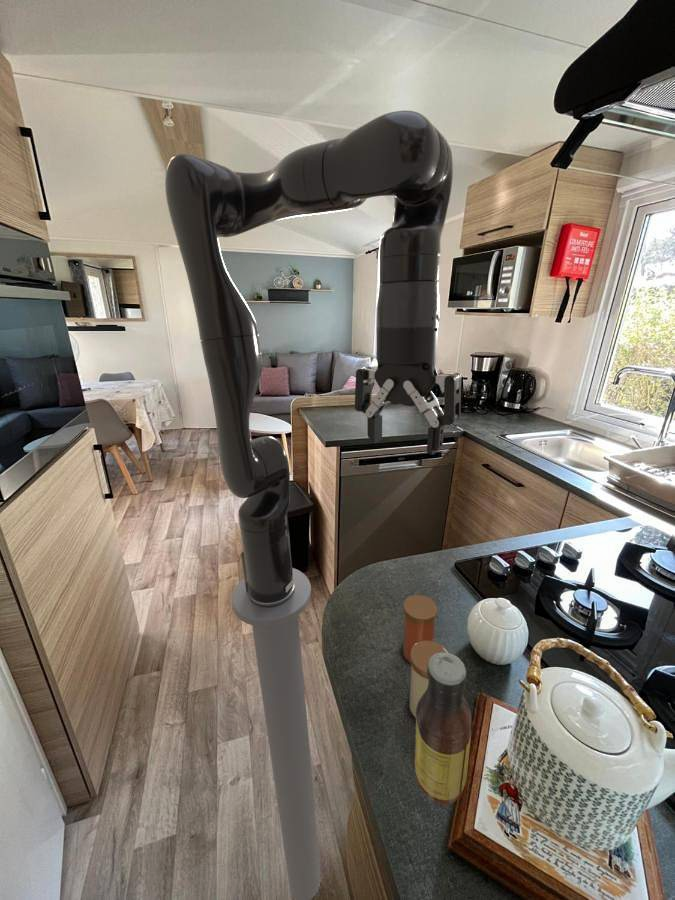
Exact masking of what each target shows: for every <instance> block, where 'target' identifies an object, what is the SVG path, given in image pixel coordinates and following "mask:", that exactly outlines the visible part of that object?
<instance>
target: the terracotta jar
mask: <svg viewBox="0 0 675 900" xmlns="http://www.w3.org/2000/svg"><path fill="white" fill-rule="evenodd" d="M403 615H404V618H403V619H404V620H403V644H402V654H403V657H404V658H405V660H406V661H407V662H409V663H410V664H411V662H410V653H411V649H412V647H413V646H414V645H415V644H416V643H418V642H421V641H433V642H435V632H436V631H435V629H436V620H437V617H438V605H437V603H436V602H435V601H434V600H433V599H431V598H430V597H428V596H426V595H421V594H413V595H410V596H408V597H407V598H406V599H405V600H404V602H403Z"/></svg>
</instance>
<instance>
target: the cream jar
mask: <svg viewBox="0 0 675 900" xmlns="http://www.w3.org/2000/svg"><path fill="white" fill-rule="evenodd" d="M437 653H449V652H448V650H447V649H446V648H445V647H444V646H443V645H441V644H440V643H438V642H436V641H434V642H433V641H421V642H418V643H416V644H415V645H414V646H413V647H412V649H411V653H410V662H411V663H410V662H409V663H410V665H411V666H410V682H409V683H410V685H409V703H408V705H409V710H410V712H411V714H412V716H413V717H414V718H415V719H416V708H417V704H418V701H419V699H420V698H421V696H422V695H423V694H424V692H425V691H426V690H427V687H428V681H429V679H428V675H427V667H428V662H429V659H430V658H431V657H432V656H433V655H434V654H437Z"/></svg>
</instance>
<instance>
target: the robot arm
mask: <svg viewBox="0 0 675 900" xmlns="http://www.w3.org/2000/svg"><path fill="white" fill-rule="evenodd" d="M453 163H454V162H453V154H452V149H451V145H450V144H449V142H448V140H447V139H446V138H445V136H444V135H443V134H442V133H441V132H440V131H439V130H438V128H437V127H436V126H434V124H433V123H432V122H431V121H430V120H429V119H428V118H427V117H426V116H425V115H424V114H422V113H420V112H417V111H414V110H405V109H404V110H396V111H391V112H387V113H384V114H382V115H379V116H377V117H374V118H373V119H371V120H369V121H367V122H366V123H364V124H363V125H361V126H359V127H358V128H355V129H354V130H352V131H351V132H349V133H348V134H347V135H346V136H344V137H339V138H334V139H330V140H326V141H322V142H318V143H313V144H309V145H306V146H303V147H300V148H298V149H295V150H293V151H291V152H290V153H288V154H287V155H285V157H283V158H281V160H280V161H279V162H277V164H276V165H275V166H273V167H272V168H270V169H268V170H266V171H261V172H242V171H241V172H240V171H234V170H232V169H230V168H229V167H227V166H224V165H221V164H220V163H217V162H214V161H211V160H208V159H205V158H203V157H199V156H197V155H195V154H190V153H179V154H176V155H174V156H173V157H172V158H171V159H170V161H169V163H168V165H167V168H166V172H165V177H164V178H165V179H164V180H165V181H164V182H165V183H164V187H165V189H164V191H165V197H166V198H165V199H166V204H167V209H168V213H169V217H170V221H171V225H172V228H173V232H174V234H175V238H176V242H177V245H178V248H179V252H180V255H181V259H182V261H183V262H182V263H183V266H184V269H185V272H186V276H187V280H188V284H189V289H190V293H191V296H192V303H193V308H194V312H195V316H196V323H197V328H198V335H199V340H200V347H201V351H202V356H203V361H204V366H205V368H206V370H205V371H206V372H207V373H206V374H207V377H208V378H207V379H208V382H209V383H208V384H209V388H210V393H211V400H212V404H213V410H214V411H213V412H214V417H215V425H216V436H217V447H218V457H219V464H220V469H221V474H222V477H223V480H224V483H225V485H226V486H227V489H228V490H229V491H230V492H231V493H232V495H234V496H235V497H237V498H239V499H245V500H244V501H243V503H242V504H241V505H240V506H239V509H238V512H237V516H238V524H239V530H240V531H239V532H240V538H241V545H242V552H241V553H240V557H241V565H242V572H243V578H244V579H245V586H246V591H247V592H248V593H249V598H250V600H251V601H252V602H253V603H254V604H255V605H257V606H260V607H274V606H278V605H281V604H283V603H285V602H286V601H287V600H289V599H290V598H291V596H292V595H293V593H294V581H293V571H292V568H293V561H292V551H291V549H292V548H291V538H290V529H289V528H290V527H289V526H290V525H289V518H288V516H289V515H288V510H289V509H290V506H291V505H290V504H291V476H290V463H289V459H288V458H289V457H288V454H287V452H286V450H285V448H284V446H283V444H282V443H281V442H280V441H279V440H278V439H277V438H275V437H273V436H270V435H264V436H259V437H257V438H253V439H251V432H250V415H251V409H252V406H253V402H254V399H255V395H256V393H257V389H258V386H259V384H260V380H261V376H262V371H263V356H262V348H261V340H260V335H259V329H258V326H257V325H258V324H257V322H256V319H255V317H254V315H253V313H252V311H251V309H250V308H249V306H248V304H247V302H246V301H245V299H244V297H243V296H242V294H241V293H240V292H239V290H238V288H237V287H236V285H235V283H234V282H233V280H232V278H231V277H230V274H229V272H228V271H227V267H226V265H225V262H224V259H223V256H222V252H221V247H220V241H219V238H231V237H234V236H238V235H240V234H241V235H242V234H244V233H246V232H249V231H251V230H254V229H256V228H259V227H261V226H263V225H266V224H270V223H273V222H277V221H280V220H284V219H290V218H295V217H303V216H304V217H305V216H312V215H320V214H321V215H322V214H328V213H329V214H330V213H335V212H336V213H337V212H342V211H343V212H344V211H348V210H353V209H356V208H358V207H360V206H362V205H363V204H364V203H365V202H366V200H367V199H370V198H375V197H393V198H394V202H393V214H392V222H391V226H390V227H388V228H387V229H386V230H384V231H383V233H382V235H381V236H380V240H379V248H378V249H379V250H378V290H377V291H378V292H377V297H376V298H377V299H376V327H375V328H376V331H375V333H376V335H375V336H376V341H375V342H376V343H375V346H376V348H375V349H376V350H375V351H376V352H375V354H376V355H375V359H376V362H377V367H376V369H373V368H372V367H371V366H365V367H362V368H358V369H357V370H356V371H355V384H354V385H355V387H354V388H355V389H354V410H355V411H356V412H361V413H363V414H365V416H366V419H367V421H366V422H367V438H368V439H369V441H370V443H373V444H377V443H379V442H381V441H382V439H383V415H382V414H381V413H382V412H383V410H384V409H385V408H386V406H387V405H388V404H390V405H404V406H406V407H414V406H416V408H417V410H418V411H419V412H420V414H421V415H422V414H423V415H424V417H425V419H426V420H427V423H429V425H430V426H428V427H427V440H426V443H427V444H426V454H427V455H432V456H433V455H435V454H436V453H437V452H438V451H439V450H441V449H442V446H443V444H444V433H445V432H444V431H445V426H451V425H453V424H454V423H455V422H457V421H459V420H460V419H461V410H462V409H461V407H462V406H461V405H462V404H461V403H462V375H461V374H460V373H459V372H454V373H451V374H439V373H438V370H437V366H436V364H437V357H438V356H437V355H438V341H439V340H438V339H439V322H440V319H441V313H440V306H441V305H440V300H441V299H440V282H439V280H440V264H441V239H442V235H443V230H444V227H445V223H446V218H447V214H448V208H449V205H450V199H451V193H452V188H453V177H454V164H453ZM375 382H376V384H377V385H378V387H379V391H378V392H377V393H376V394H375V396H374V397H373V399H372V390H373V389H372V388H373V384H374V383H375ZM437 385H438V386H439V389H440V391H441V392H442V393H443V396H444V397H443V410H442V408H441V407H440V404H439V401H438V400H439V399H438V398H437V397H436V395H435V393H433V389H434V388H435V387H436V386H437Z"/></svg>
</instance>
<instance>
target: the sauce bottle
mask: <svg viewBox="0 0 675 900" xmlns="http://www.w3.org/2000/svg"><path fill="white" fill-rule="evenodd" d="M427 675H428V679H429V681H428V687H427V690H426V691H425V692H424V694H423V695H422V696H421V698H420V699H419V701H418V704H417V708H416V718H415V739H414V740H415V742H414V770H415V774H416V779H417V783H418V785H419V787H420V789H421V791H422V793H423V794H424V795H425V796H427V798H429V799H430V800H431V801H433V802H434V803H437V804H438V805H441V806H445V805H451V804H453V803H454V802H456V801H458V800H459V799H460V798H461V797H462V795H463V793H464V790H465V789H464V788H465V786H466V783H467V777H468V766H469V757H470V749H471V737H472V711H471V709H470V707H469V703H468V702H467V700H466V698H465V697H464V687H465V685H466V681H467V669H466V666H465V664H464V662H463V661H462V660H461V659H460V658H459V657H458V656H456V655H455V654H452V653H450V652H448V653H437V654H434V655H433V656H432V657H431V658H430V659H429V662H428V667H427Z"/></svg>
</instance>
